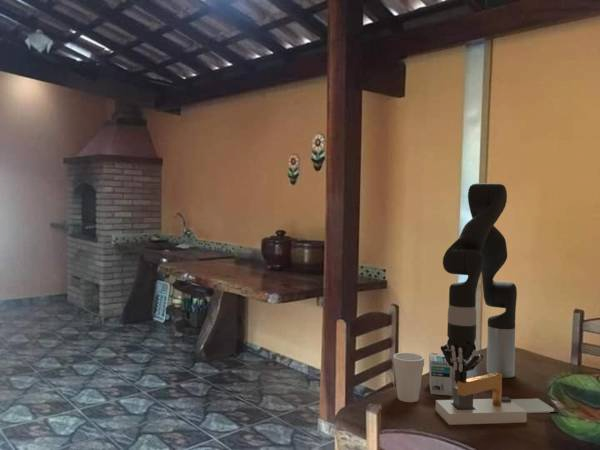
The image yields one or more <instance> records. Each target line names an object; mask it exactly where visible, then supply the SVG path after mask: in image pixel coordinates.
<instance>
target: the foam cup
mask: <svg viewBox="0 0 600 450" xmlns="http://www.w3.org/2000/svg"><path fill="white" fill-rule="evenodd" d="M392 357H393V360H392V361H393V362H392V363H393V368H394V376H395V377H394V378H395V385H396V387H395V388H396V394H397V399H398V400H399V401H401V402H404V403H405V402H406V403H415V402H418V401H419V398H420V392H421V385H422V378H423V372H424V367H425V356H423V355H421V354H419V353H415V352H397V353H394V354H393V356H392Z"/></svg>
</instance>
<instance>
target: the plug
mask: <svg viewBox="0 0 600 450" xmlns="http://www.w3.org/2000/svg"><path fill="white" fill-rule="evenodd" d="M457 387H458V385H457V386H456V385H455V386H453V387H452V398H453V399H452V400H453V406H454V407H455V408H456V409H457V410H473V399H474V394H470V395H466V396H461V395H459V394H457Z"/></svg>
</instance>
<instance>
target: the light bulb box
mask: <svg viewBox="0 0 600 450" xmlns="http://www.w3.org/2000/svg"><path fill="white" fill-rule="evenodd" d="M428 356H429V358H428V359H429V361H428V362H429V363H428V364H429V366H428V367H429V368H428V370H429V372H428V373H429V376H428V378H429V379H428V380H429V383H428V384H429V390H430V395H441V396H450V397H451V396H452V397H453V367H452V366H449V364H448V362H447V360H446V358H445V356H444V354H443V353H439V352H429V355H428Z"/></svg>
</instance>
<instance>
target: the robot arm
mask: <svg viewBox="0 0 600 450" xmlns="http://www.w3.org/2000/svg"><path fill="white" fill-rule="evenodd" d="M467 200H468V201H467V202H468V207H469V208H468V209H469V211H470V215H471V219H470V220H468V221H467V222H466V224H465V225H464V227H463V228H462V230H461V233H460V235H459V237H458V238H457V239H456V240H455V241H454V242H453V243H452V244H451V245H450V246H449V247H448V248H447V249H446V251H445V253H444V255H443V258H442V267H443V269H444V271H445V272H447V273H448V274H451V275H460V276H467V278H466V280H465V281H462V282H455V283H452V284H451V285H450V286H449V288H448V289H449V290H448V292H449V293H448V310H447V329H446V330H447V333H446V334H447V335H446V336H447V341H446V342H447V343H446V344H444V345H441V346H440V351H441V352H442V354H444V356H445V358H446V360H447V362H448V364H449V366H452V368H453V370H454V380H455V383H456V384H457V385H458V381H460V380H464V379H468V378H467V377H468V376H467V375H468V371H473V370H474V369H475V367H477V366H478V365H479V363H481V361H482V360H483V359H484V355H483V354H479V352H477V347H476V343H475V342H476V339H477V307H476V305H477V303H476V301H477V290H478V289H477V288H478V286H479V285H478V283H479V280H480V276H481V279H482V281H481V282H482V293H483V295H482V296H483V299H484V303H485V305H486V306H487V307H490V308H500V309H505V310H504V312H503V313H501V314H496V315H492V316H490V317H488V318H487V339H486V341H487V342H486V343H487V345H486V374H491V373H494V372H498V373H501V374H502V379H511V378H514V377H515V370H516V369H515V365H516V363H515V362H516V360H515V359H516V355H515V354H516V310H517V297H518V295H517V294H518V289H517V286H516V284H515V283H513V282H509V281H508V282H505V281H494V278H495V276H496V274H497V273H498V272H499V270H500V269H501V268H502V267H503V266H504V265H505V263H506V261H507V260H508V248H507V241H506V238H505V237H504V235H503V234H502V232H500V230H499V229H498V228H497V227H496V226H495V224H496V223H497V221H498V219H499V218H500V216H501V215H502V214H503V212H504V210H505V209H506V205H507V200H508V192H507V188H506V187H505V185H504V184H502V183H497V182H496V183H495V182H494V183H493V182H492V183H487V182H486V183H484V182H483V183H481V182H480V183H477V182H476V183H473V184H471V185H470V186H469V187H468V192H467Z"/></svg>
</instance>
